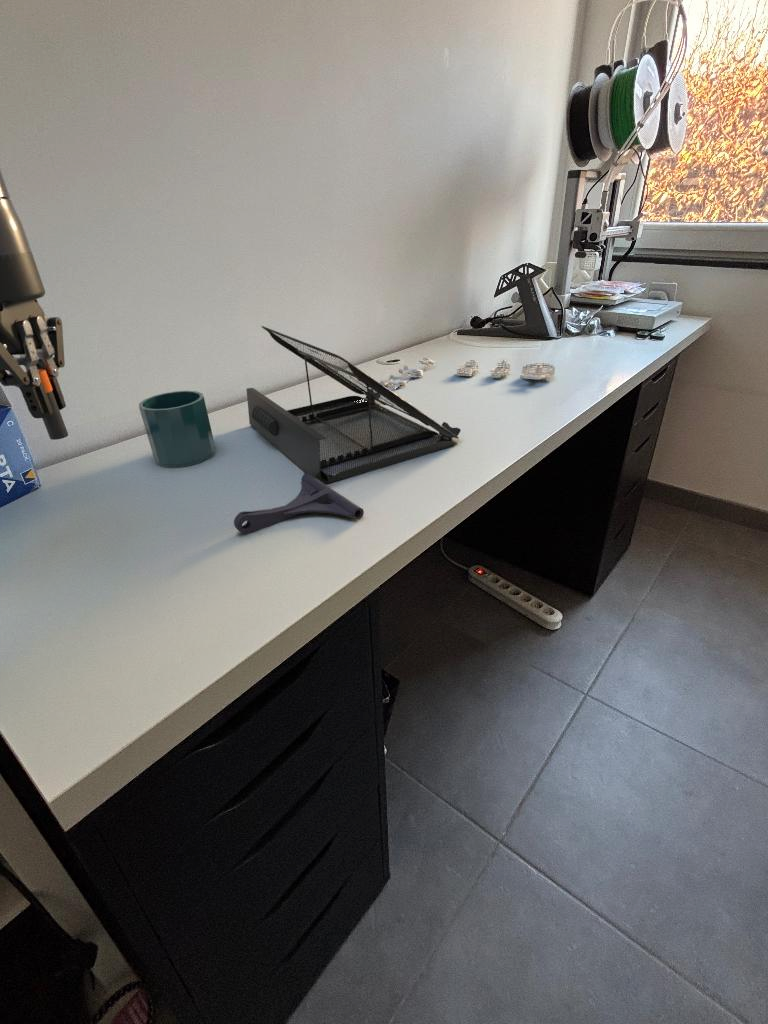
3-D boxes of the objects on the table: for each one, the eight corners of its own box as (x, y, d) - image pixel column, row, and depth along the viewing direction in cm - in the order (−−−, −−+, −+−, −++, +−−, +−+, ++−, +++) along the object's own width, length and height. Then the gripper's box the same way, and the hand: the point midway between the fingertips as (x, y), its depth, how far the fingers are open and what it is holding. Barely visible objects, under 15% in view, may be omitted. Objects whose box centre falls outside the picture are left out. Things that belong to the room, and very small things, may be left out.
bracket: (218, 514, 74) (213, 496, 72) (311, 481, 81) (309, 465, 79) (261, 560, 63) (257, 540, 62) (364, 518, 70) (362, 499, 69)
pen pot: (146, 469, 88) (128, 411, 84) (167, 445, 97) (153, 392, 92) (206, 466, 88) (192, 408, 83) (222, 442, 97) (210, 389, 92)
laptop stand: (463, 442, 90) (465, 332, 81) (315, 487, 79) (298, 364, 70) (369, 397, 116) (362, 309, 107) (246, 426, 104) (227, 330, 95)
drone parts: (528, 408, 105) (529, 393, 104) (377, 393, 121) (375, 379, 120) (558, 373, 122) (559, 359, 120) (421, 364, 138) (421, 351, 136)
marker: (45, 440, 64) (19, 374, 60) (55, 433, 65) (30, 369, 61) (63, 439, 63) (38, 373, 60) (72, 433, 65) (49, 368, 61)
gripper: (-4, 249, 61) (51, 396, 69) (-101, 258, 48) (-20, 436, 57) (60, 245, 60) (107, 394, 69) (-21, 254, 48) (48, 433, 57)
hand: (49, 412), depth 63 cm, fingers closed on marker, 2 cm apart
